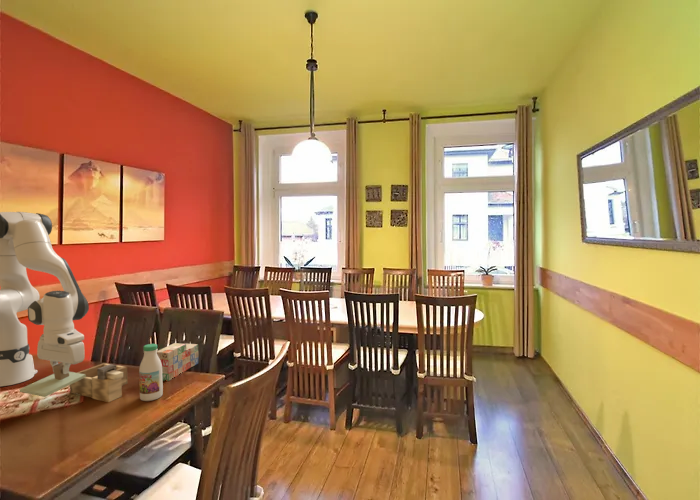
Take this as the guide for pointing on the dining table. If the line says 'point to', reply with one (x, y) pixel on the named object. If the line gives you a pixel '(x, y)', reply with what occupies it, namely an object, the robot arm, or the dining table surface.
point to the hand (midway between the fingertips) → (61, 372)
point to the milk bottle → (150, 374)
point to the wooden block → (113, 374)
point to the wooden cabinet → (100, 383)
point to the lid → (52, 382)
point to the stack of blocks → (177, 359)
